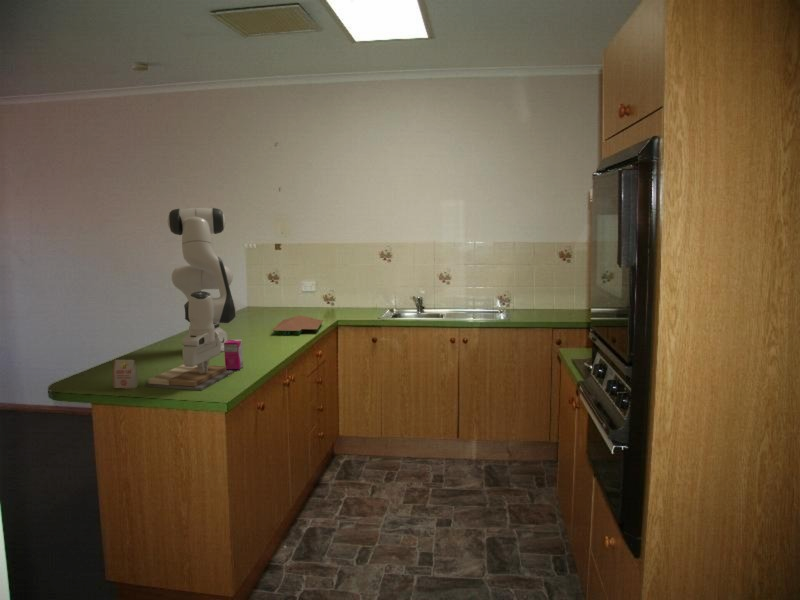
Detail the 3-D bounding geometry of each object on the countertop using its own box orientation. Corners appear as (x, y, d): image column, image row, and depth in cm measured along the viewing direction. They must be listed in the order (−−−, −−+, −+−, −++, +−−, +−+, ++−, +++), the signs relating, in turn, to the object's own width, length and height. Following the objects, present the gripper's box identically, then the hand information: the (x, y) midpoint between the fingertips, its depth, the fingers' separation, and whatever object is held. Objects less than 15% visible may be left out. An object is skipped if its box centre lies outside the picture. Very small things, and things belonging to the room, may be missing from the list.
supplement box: (229, 366, 229) (228, 339, 227) (243, 367, 229) (243, 339, 227) (224, 370, 223) (223, 342, 222) (239, 370, 223) (238, 342, 222)
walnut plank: (202, 368, 221) (202, 365, 221) (226, 370, 219) (226, 366, 219) (169, 384, 200) (169, 380, 199) (195, 386, 198) (195, 382, 197)
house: (323, 325, 324) (323, 311, 323) (316, 337, 291) (315, 321, 290) (283, 324, 324) (283, 310, 323) (271, 336, 291) (271, 321, 290)
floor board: (182, 369, 223) (182, 363, 223) (233, 373, 219) (233, 366, 219) (145, 386, 201) (145, 379, 201) (201, 390, 197) (201, 383, 196)
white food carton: (118, 385, 202) (117, 358, 200) (137, 385, 202) (136, 358, 200) (113, 388, 198) (112, 361, 197) (133, 388, 198) (131, 361, 197)
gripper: (209, 330, 218) (210, 365, 220) (178, 341, 198) (180, 379, 200) (224, 331, 216) (225, 366, 218) (194, 342, 197) (196, 380, 199)
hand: (203, 372), depth 209 cm, fingers closed
